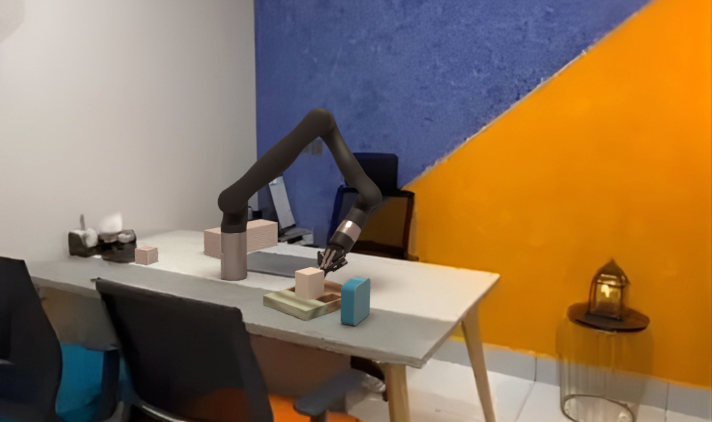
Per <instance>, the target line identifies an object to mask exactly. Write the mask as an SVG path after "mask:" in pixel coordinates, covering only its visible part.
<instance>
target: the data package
mask: <svg viewBox="0 0 712 422" xmlns="http://www.w3.org/2000/svg"><path fill="white" fill-rule="evenodd" d="M371 282H372V281H371V278H370V277H367V276H365V277H364V276H359V275H355V276H354V277H353V278H351V279H349V280H347V281H346V282H345V283H343V284H341V285H342V288H341V309H340V323H341V324H344V325H349V326H355V327H356V326H357V325H359V323H361V322H362V321H363V320H365V318H366V317H368V316H369V314H370V309H371V307H370V306H371Z"/></svg>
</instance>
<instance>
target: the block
mask: <svg viewBox="0 0 712 422" xmlns="http://www.w3.org/2000/svg"><path fill="white" fill-rule="evenodd" d="M294 286H295V296H298V297H301V298H304V299H307V300H309V299H313V298H316V297H319V296H322V295H324V271H323V270H320V268H316V267H314V266H310V267H305V268H302V269H297V270H296V271H294Z"/></svg>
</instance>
